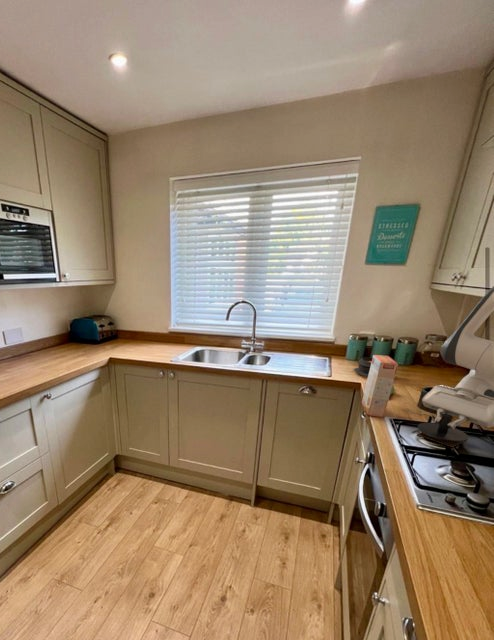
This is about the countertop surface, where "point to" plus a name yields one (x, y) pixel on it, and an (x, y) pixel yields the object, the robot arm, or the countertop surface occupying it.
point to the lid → (443, 430)
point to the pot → (420, 403)
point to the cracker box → (379, 385)
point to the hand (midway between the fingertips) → (443, 424)
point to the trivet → (439, 440)
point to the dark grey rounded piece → (364, 366)
